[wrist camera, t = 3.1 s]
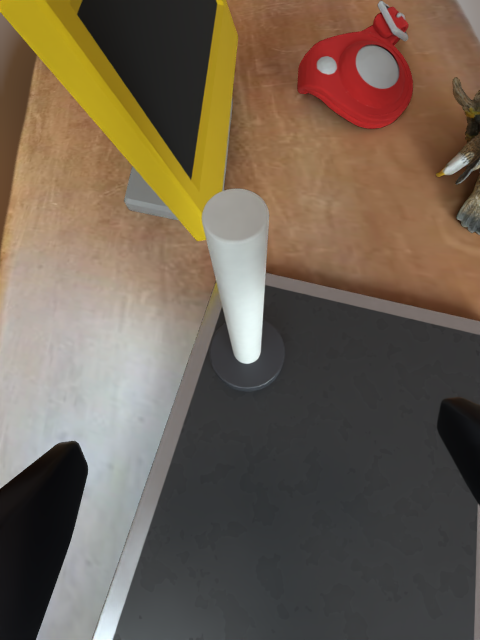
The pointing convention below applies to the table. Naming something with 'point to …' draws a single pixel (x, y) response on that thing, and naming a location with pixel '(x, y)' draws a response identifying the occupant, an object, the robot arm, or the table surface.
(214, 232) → the white peg on base
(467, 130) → the eagle figurine
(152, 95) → the toy computer monitor
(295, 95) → the table surface
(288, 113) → the table surface
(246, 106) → the table surface
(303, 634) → the tablet
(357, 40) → the tracker holder
